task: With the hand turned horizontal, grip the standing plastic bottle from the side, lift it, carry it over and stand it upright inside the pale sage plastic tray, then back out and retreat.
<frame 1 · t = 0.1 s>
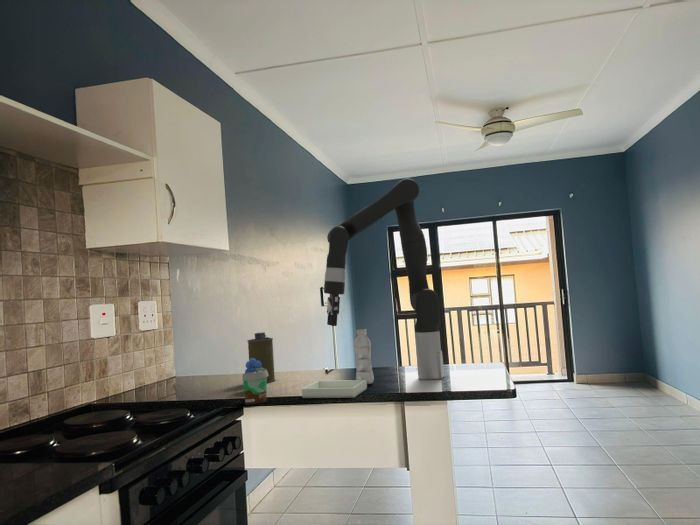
hand: (331, 325, 187), 22 cm above the counter, tool pointing down, fingers open, 8 cm apart
tray: (335, 393, 175), on the counter
plastic bottle: (365, 385, 188), on the counter
canister: (262, 382, 212), on the counter
food container: (260, 402, 170), on the counter
grapes: (254, 391, 190), on the counter
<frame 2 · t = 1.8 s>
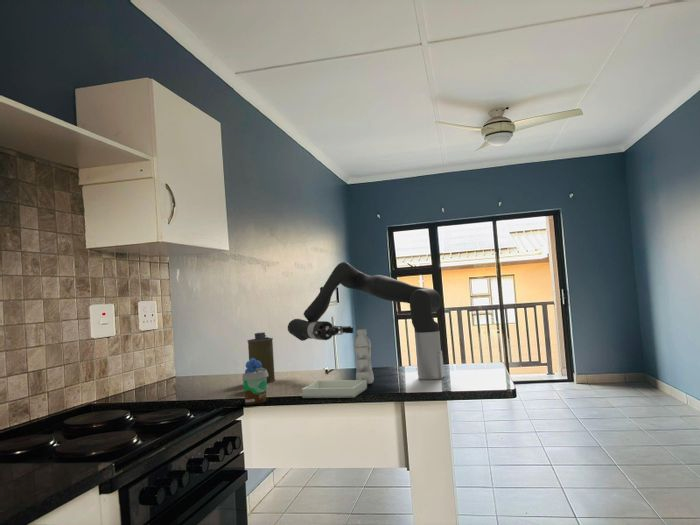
hand: (343, 331, 198), 19 cm above the counter, tool horizontal, fingers open, 8 cm apart
nothing on the counter moved.
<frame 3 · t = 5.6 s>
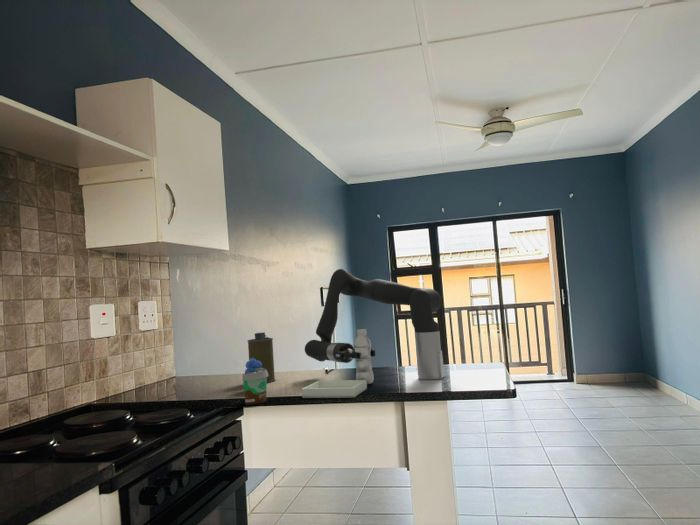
hand: (367, 354, 186), 11 cm above the counter, tool horizontal, fingers closed on plastic bottle, 6 cm apart
plastic bottle: (365, 385, 188), on the counter, touching gripper
everything else where it was.
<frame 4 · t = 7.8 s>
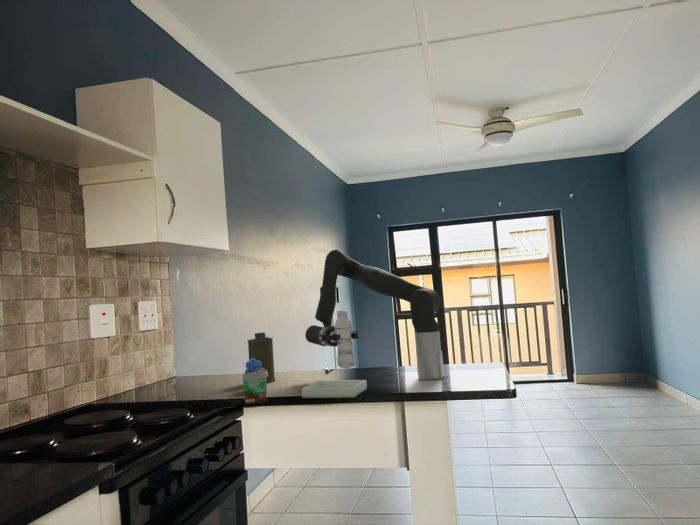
hand: (346, 336, 178), 19 cm above the counter, tool horizontal, fingers closed on plastic bottle, 6 cm apart
plastic bottle: (347, 368, 179), point 7 cm above the counter, touching gripper
everything else where it was.
when the fingers open (13 cm above the counter, at t = 10.1 s): plastic bottle drops 1 cm, resting on tray.
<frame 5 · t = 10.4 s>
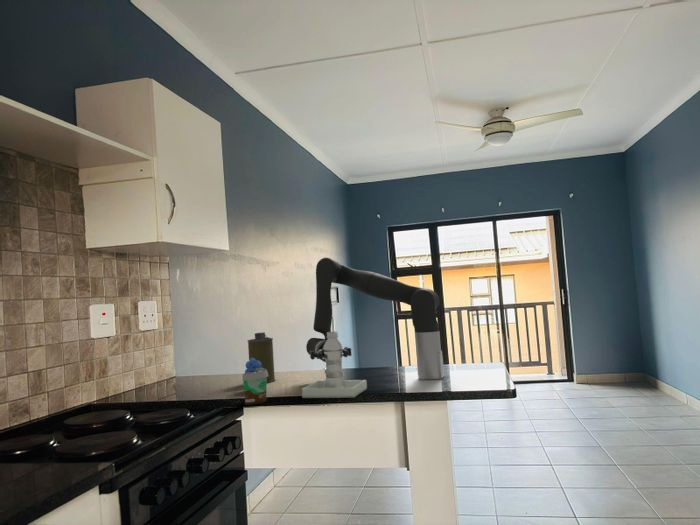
hand: (333, 355, 174), 13 cm above the counter, tool horizontal, fingers open, 8 cm apart
plastic bottle: (335, 391, 175), resting on tray
everything else where it was.
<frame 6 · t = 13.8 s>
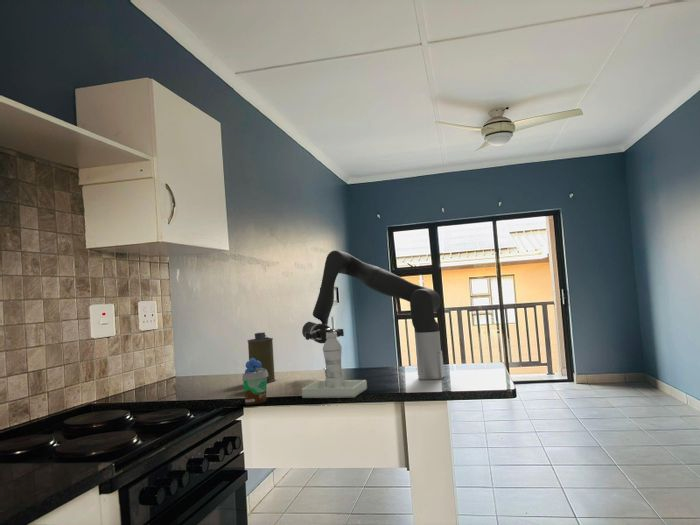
hand: (327, 334, 187), 19 cm above the counter, tool horizontal, fingers open, 8 cm apart
nothing on the counter moved.
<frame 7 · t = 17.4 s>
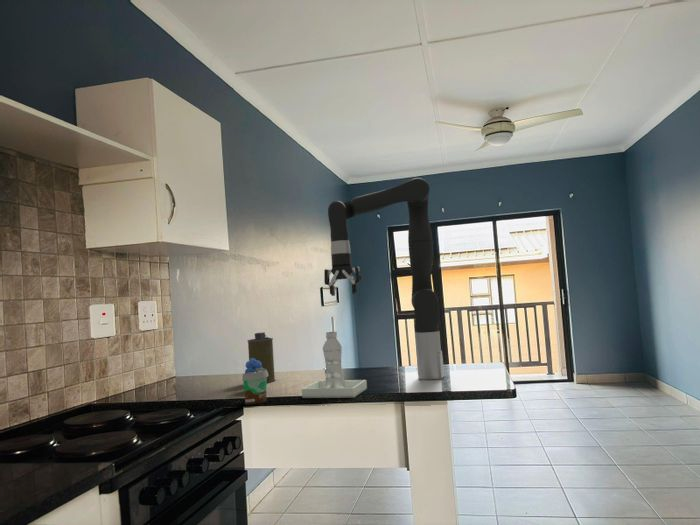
hand: (343, 295, 198), 33 cm above the counter, tool pointing down, fingers open, 8 cm apart
nothing on the counter moved.
at the end: plastic bottle inside the target area on the tray (0.1 cm from its centre), point 0.4 cm above the tray's base; plastic bottle tilted 0°; the gripper is holding nothing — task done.
